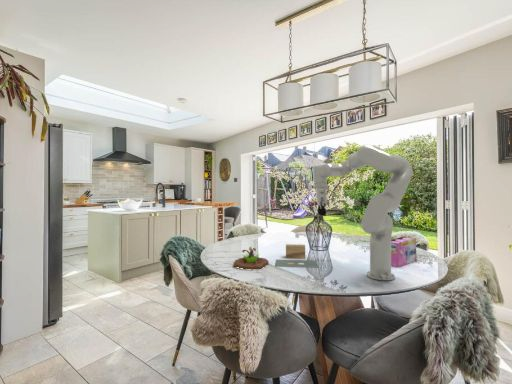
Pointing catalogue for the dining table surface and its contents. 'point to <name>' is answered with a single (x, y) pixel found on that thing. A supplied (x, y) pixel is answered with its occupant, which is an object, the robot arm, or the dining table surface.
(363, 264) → the dining table surface
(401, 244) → the gum box
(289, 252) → the oak block
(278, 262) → the mat
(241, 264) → the plant
